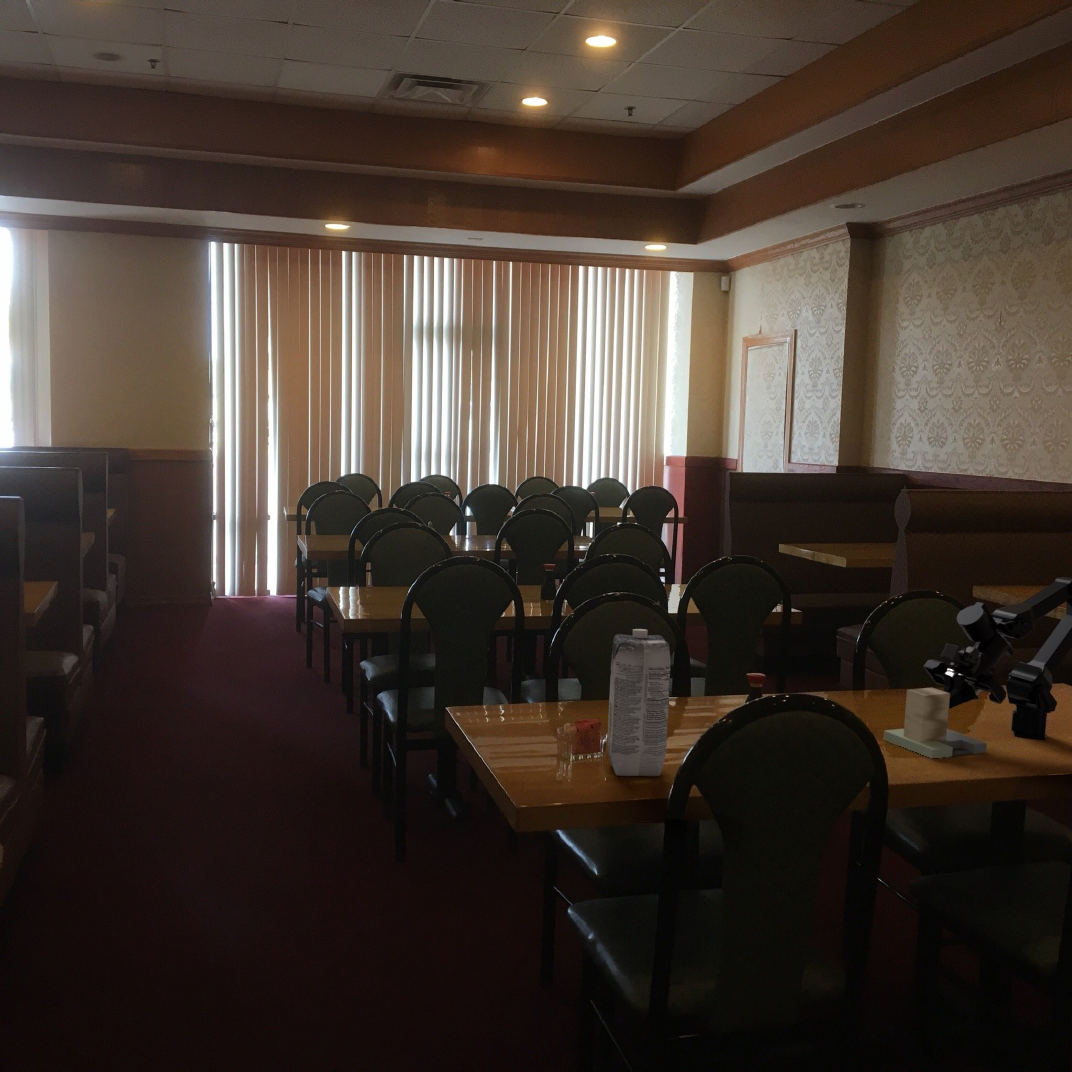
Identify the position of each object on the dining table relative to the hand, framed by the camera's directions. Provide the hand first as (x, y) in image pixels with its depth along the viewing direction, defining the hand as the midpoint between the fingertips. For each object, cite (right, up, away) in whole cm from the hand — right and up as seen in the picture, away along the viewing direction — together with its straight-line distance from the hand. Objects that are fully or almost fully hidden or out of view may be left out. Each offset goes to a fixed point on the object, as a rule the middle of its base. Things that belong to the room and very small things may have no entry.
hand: (940, 709), depth 231 cm
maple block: (-4, -6, -1) cm, 7 cm away
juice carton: (-67, -8, -23) cm, 71 cm away
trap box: (-1, -8, 0) cm, 8 cm away
